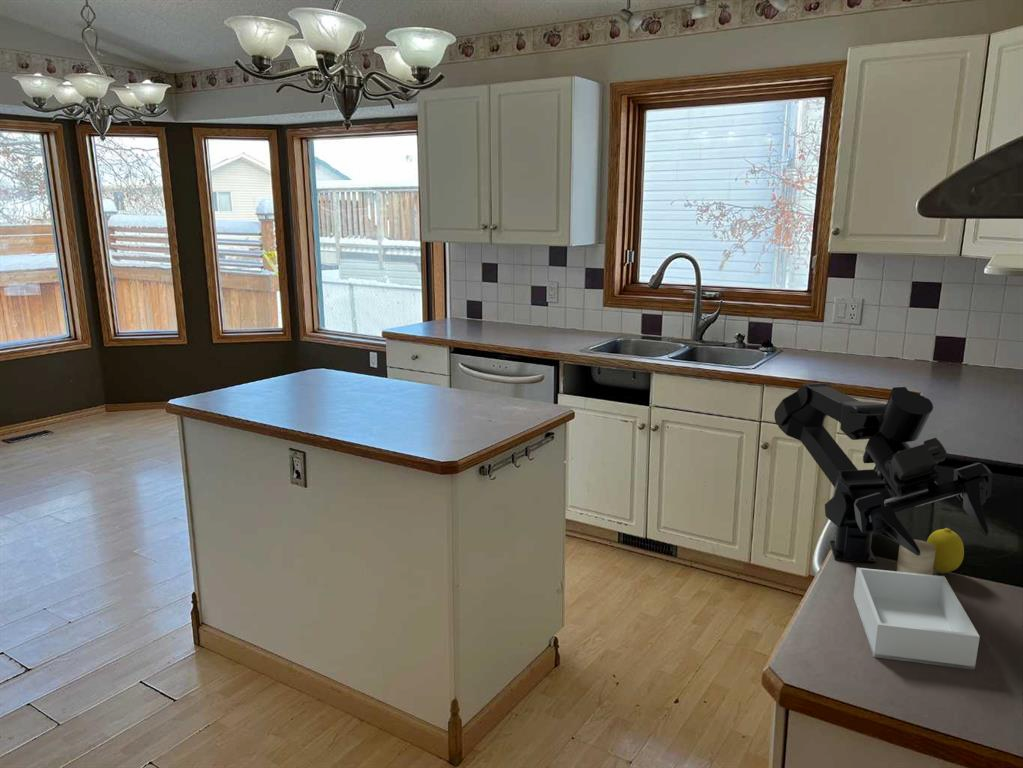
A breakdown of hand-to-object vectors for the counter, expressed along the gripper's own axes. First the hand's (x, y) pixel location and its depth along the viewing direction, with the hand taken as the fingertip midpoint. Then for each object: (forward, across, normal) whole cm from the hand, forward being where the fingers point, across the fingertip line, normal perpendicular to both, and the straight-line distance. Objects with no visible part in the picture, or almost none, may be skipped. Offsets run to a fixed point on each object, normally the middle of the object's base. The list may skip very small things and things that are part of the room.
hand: (952, 544), depth 103 cm
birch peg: (-6, -3, +18) cm, 19 cm away
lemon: (-9, +3, +22) cm, 24 cm away
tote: (+5, -9, +11) cm, 14 cm away
